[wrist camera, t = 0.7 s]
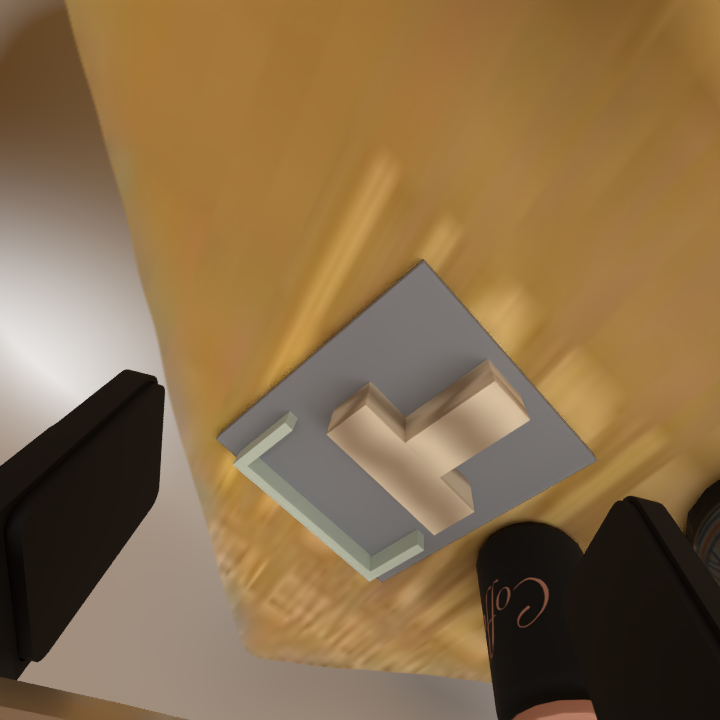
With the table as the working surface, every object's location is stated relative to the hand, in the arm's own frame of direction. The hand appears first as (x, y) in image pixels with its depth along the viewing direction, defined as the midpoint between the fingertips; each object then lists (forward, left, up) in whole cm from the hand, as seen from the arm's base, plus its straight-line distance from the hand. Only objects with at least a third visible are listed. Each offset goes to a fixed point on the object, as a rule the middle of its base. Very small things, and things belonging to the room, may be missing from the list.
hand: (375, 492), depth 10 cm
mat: (+14, +15, -31) cm, 37 cm away
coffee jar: (+13, +34, -31) cm, 47 cm away
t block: (+9, +15, -30) cm, 34 cm away
